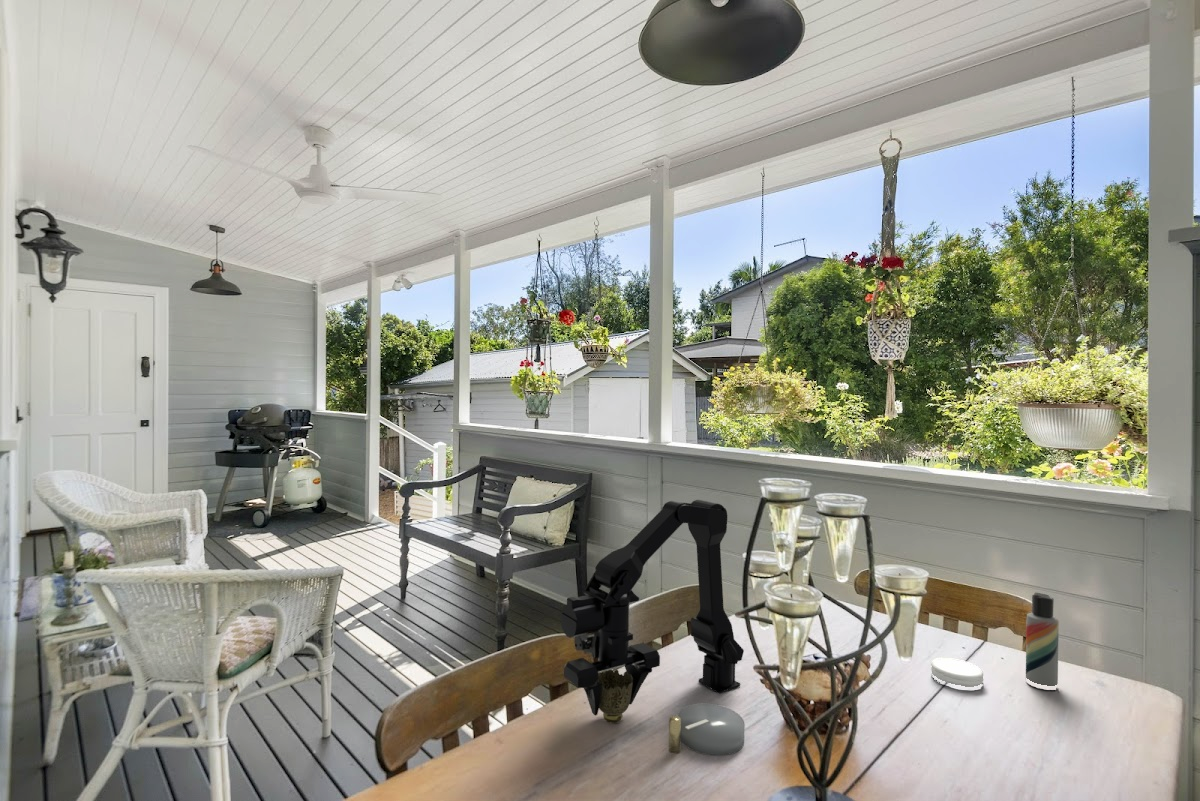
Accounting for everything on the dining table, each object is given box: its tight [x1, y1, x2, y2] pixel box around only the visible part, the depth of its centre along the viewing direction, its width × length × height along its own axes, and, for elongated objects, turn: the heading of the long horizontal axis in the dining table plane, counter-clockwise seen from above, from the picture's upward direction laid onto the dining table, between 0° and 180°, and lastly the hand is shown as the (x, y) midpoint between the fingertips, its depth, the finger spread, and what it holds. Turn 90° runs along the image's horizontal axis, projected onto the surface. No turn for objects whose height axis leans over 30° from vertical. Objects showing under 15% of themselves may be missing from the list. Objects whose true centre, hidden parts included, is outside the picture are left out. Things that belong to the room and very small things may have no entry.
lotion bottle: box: [1025, 592, 1060, 686], centre depth 132 cm, size 6×6×20 cm
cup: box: [597, 668, 633, 724], centre depth 114 cm, size 8×7×8 cm
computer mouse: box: [676, 702, 746, 757], centre depth 109 cm, size 12×12×3 cm
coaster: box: [930, 657, 984, 687], centre depth 134 cm, size 10×10×4 cm
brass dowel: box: [668, 715, 681, 755], centre depth 104 cm, size 2×2×6 cm
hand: (612, 708), depth 114 cm, fingers open, 8 cm apart
